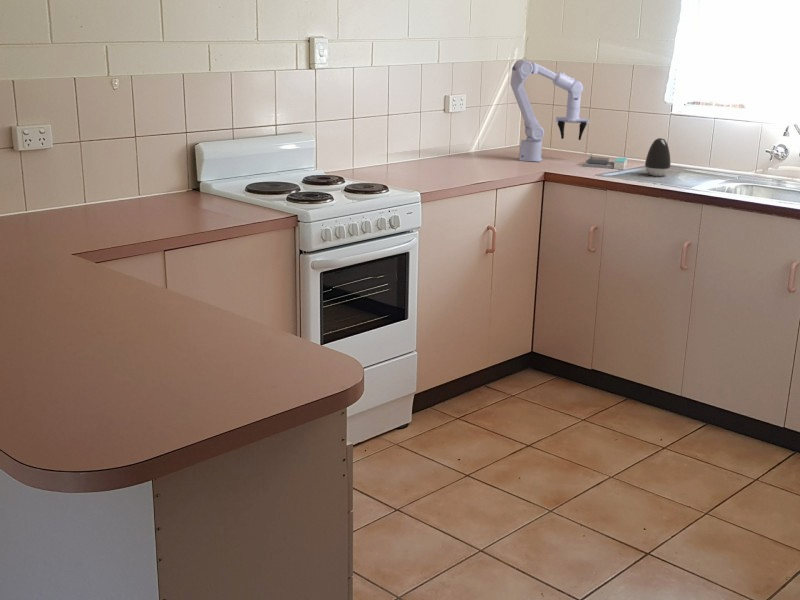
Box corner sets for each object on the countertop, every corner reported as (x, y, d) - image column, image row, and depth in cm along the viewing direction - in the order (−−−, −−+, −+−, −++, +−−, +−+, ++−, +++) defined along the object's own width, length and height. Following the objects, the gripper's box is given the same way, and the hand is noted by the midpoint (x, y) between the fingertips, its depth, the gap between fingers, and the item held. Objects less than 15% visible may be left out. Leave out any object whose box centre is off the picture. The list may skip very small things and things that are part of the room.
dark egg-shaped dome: (672, 174, 386) (676, 138, 382) (665, 178, 378) (669, 140, 373) (648, 172, 392) (652, 135, 387) (640, 175, 383) (644, 138, 379)
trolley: (587, 166, 404) (588, 155, 402) (590, 163, 410) (590, 153, 409) (606, 167, 401) (607, 157, 400) (608, 164, 408) (609, 154, 406)
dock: (582, 166, 402) (582, 159, 401) (586, 162, 413) (586, 155, 412) (623, 169, 397) (623, 162, 396) (626, 165, 407) (627, 158, 406)
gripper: (555, 108, 410) (553, 139, 414) (588, 109, 405) (586, 141, 409) (558, 106, 416) (556, 137, 420) (590, 108, 412) (588, 139, 416)
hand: (571, 139), depth 415 cm, fingers open, 7 cm apart
